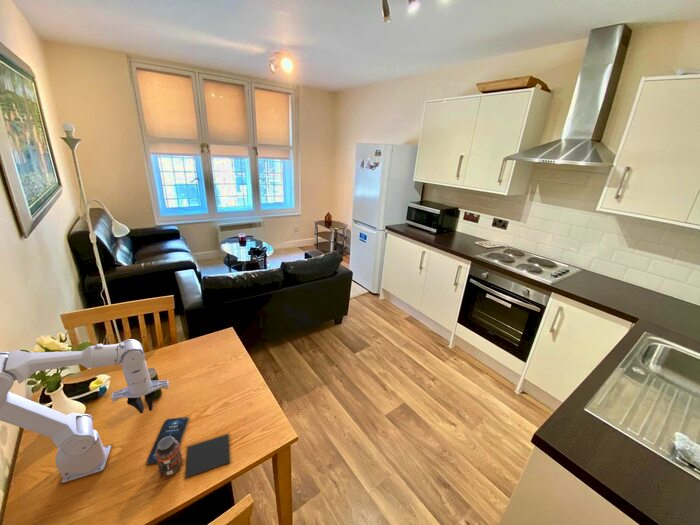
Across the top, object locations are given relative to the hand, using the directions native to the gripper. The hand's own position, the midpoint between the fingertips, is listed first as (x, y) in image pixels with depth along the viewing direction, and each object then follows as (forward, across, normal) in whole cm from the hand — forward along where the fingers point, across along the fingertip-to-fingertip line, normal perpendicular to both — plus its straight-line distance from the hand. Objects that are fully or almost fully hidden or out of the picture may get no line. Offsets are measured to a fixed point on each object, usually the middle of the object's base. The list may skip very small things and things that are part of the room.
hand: (146, 409), depth 92 cm
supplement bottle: (+10, -7, +15) cm, 20 cm away
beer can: (+11, +2, -16) cm, 19 cm away
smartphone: (+10, -5, +5) cm, 13 cm away
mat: (+10, -17, +15) cm, 25 cm away
